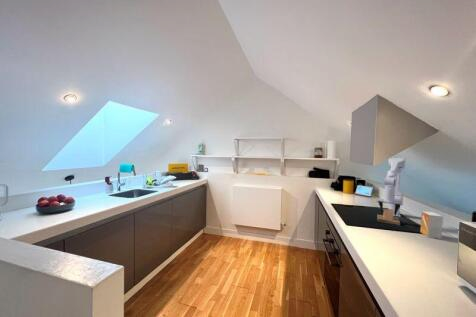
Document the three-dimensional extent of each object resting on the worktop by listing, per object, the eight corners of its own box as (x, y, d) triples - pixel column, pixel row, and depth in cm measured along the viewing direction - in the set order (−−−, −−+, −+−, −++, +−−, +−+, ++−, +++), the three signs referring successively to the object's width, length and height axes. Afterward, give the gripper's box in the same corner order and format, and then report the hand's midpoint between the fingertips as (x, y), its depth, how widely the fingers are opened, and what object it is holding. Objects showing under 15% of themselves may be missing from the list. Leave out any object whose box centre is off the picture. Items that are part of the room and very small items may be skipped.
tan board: (377, 217, 151) (377, 214, 151) (397, 220, 145) (397, 217, 145) (377, 221, 141) (378, 218, 141) (399, 225, 135) (400, 222, 135)
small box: (419, 232, 124) (421, 210, 124) (432, 233, 122) (434, 212, 122) (427, 237, 116) (429, 214, 116) (441, 239, 115) (443, 216, 114)
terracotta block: (383, 216, 146) (383, 208, 146) (392, 218, 144) (392, 209, 144) (383, 218, 142) (384, 209, 142) (392, 219, 140) (393, 211, 139)
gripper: (377, 193, 143) (376, 213, 143) (403, 197, 135) (402, 217, 136) (376, 192, 149) (375, 210, 149) (402, 195, 141) (400, 214, 142)
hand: (388, 213), depth 143 cm, fingers open, 7 cm apart
